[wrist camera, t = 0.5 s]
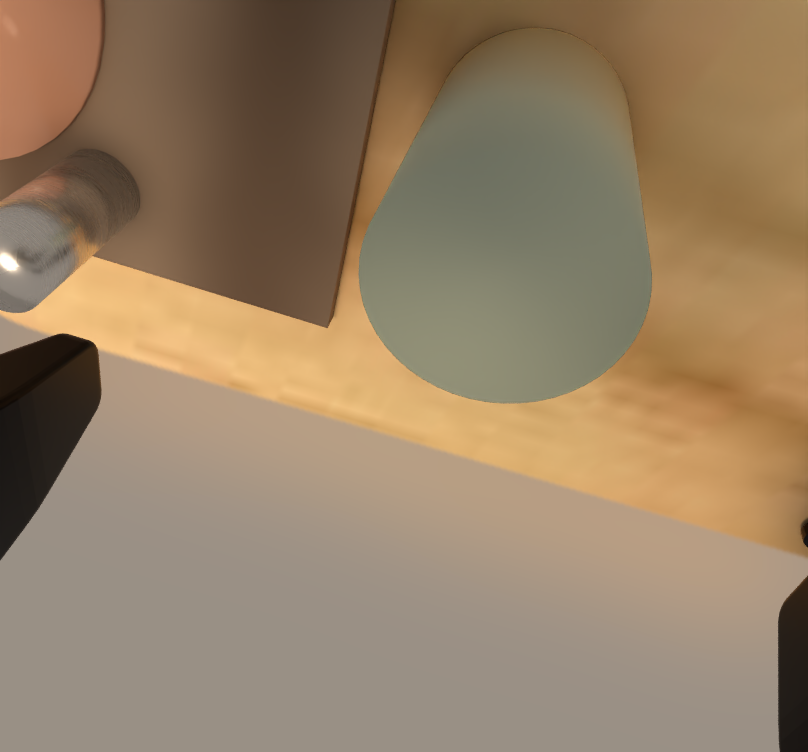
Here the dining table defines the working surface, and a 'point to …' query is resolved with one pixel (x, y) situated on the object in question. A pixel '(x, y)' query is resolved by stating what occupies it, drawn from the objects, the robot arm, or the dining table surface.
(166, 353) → the dining table surface
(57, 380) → the robot arm
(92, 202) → the steel post
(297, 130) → the course board
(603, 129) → the sage cylinder
